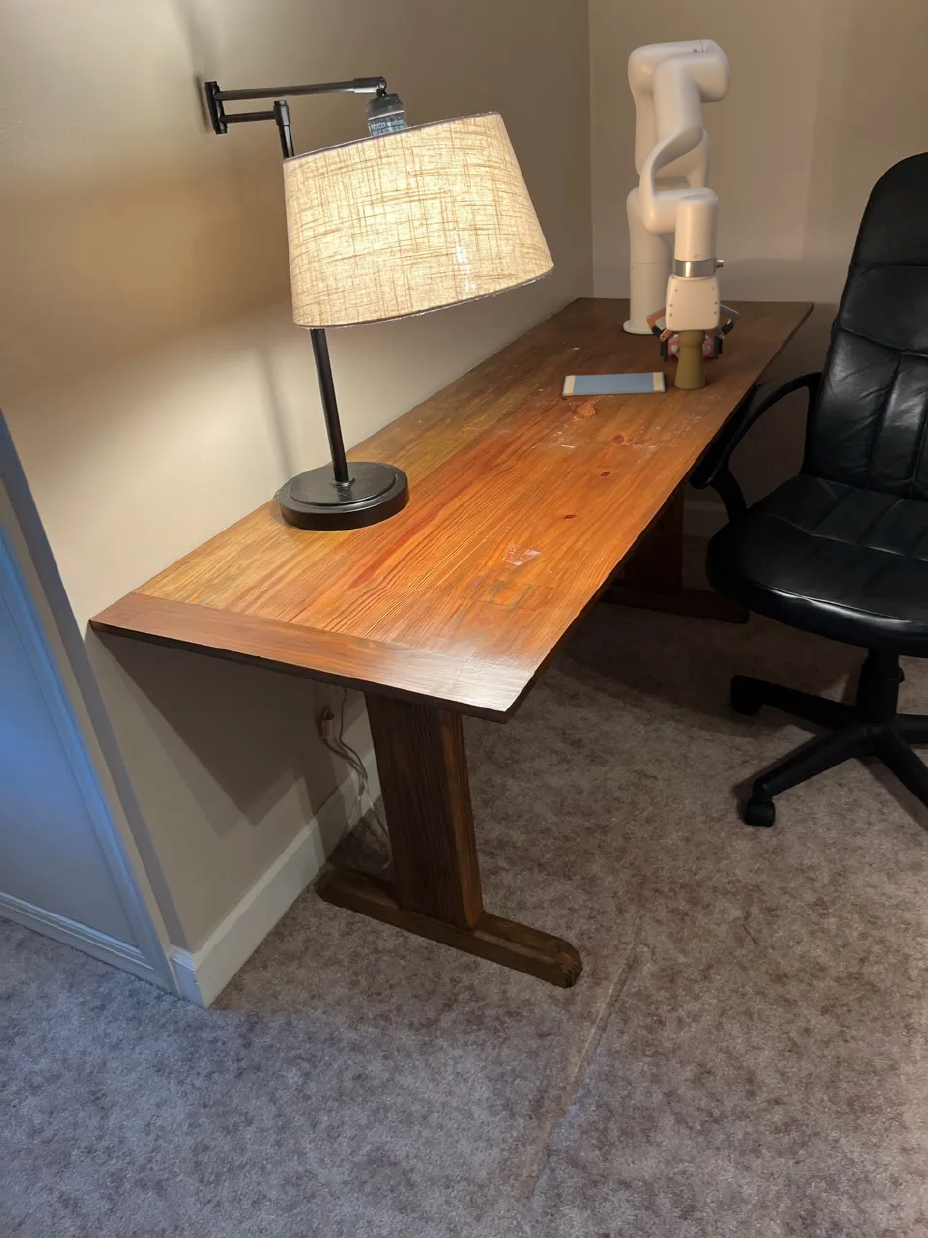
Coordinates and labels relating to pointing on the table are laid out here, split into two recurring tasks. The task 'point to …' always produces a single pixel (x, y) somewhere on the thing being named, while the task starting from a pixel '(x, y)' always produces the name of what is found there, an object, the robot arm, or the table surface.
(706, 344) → the video game controller
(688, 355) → the olive tall tapered piece
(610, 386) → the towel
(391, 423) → the table surface
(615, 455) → the table surface
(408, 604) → the table surface
